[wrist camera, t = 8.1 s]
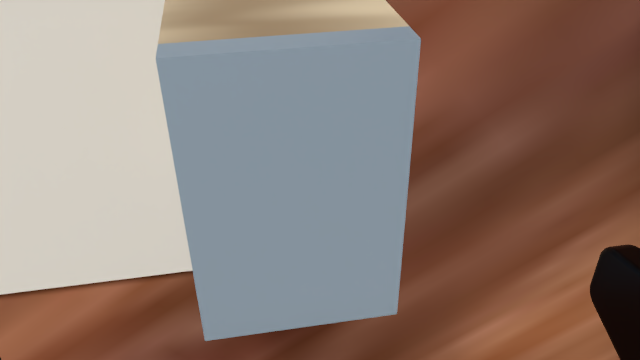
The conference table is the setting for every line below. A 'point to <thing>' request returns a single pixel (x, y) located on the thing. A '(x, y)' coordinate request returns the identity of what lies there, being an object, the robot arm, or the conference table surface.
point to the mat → (84, 146)
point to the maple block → (290, 156)
